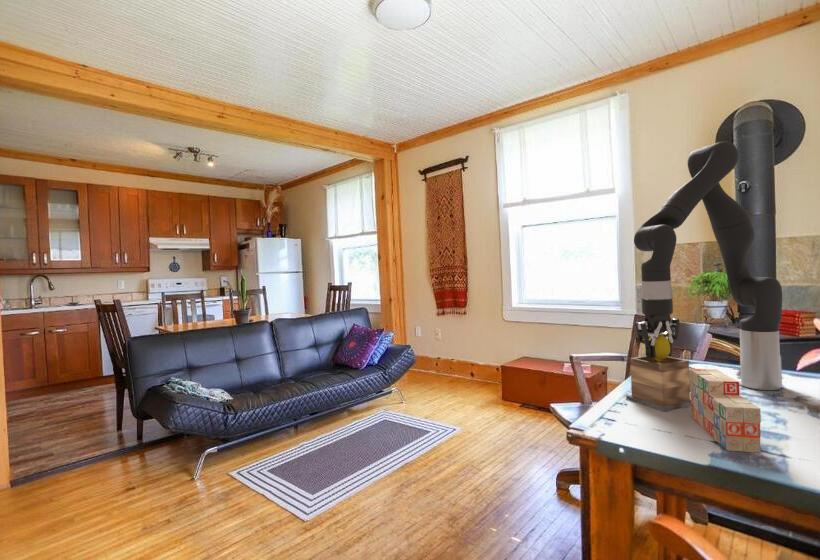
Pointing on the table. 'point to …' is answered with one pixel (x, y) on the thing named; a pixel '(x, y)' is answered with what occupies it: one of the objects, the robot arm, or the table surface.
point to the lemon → (661, 347)
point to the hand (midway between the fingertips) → (659, 356)
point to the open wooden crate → (660, 383)
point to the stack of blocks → (724, 410)
